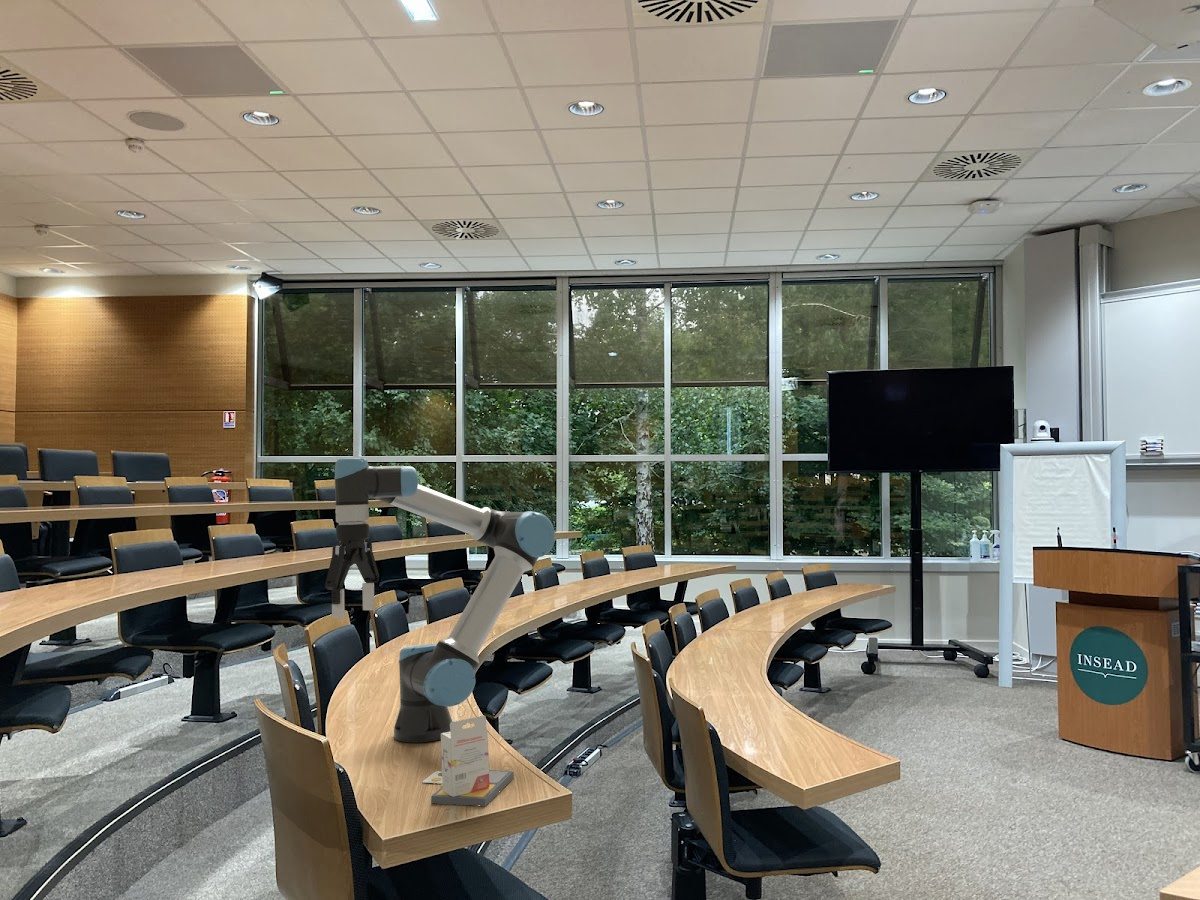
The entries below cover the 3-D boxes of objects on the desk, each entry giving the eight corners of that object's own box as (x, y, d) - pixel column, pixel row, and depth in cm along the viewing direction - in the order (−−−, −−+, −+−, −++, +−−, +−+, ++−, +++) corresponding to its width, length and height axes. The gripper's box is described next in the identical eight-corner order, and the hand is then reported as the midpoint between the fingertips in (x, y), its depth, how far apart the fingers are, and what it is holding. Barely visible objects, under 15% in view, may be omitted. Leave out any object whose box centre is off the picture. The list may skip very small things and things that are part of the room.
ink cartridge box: (479, 781, 174) (477, 710, 175) (490, 788, 170) (488, 715, 171) (441, 791, 170) (439, 717, 170) (451, 798, 165) (449, 722, 166)
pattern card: (435, 772, 186) (435, 770, 186) (456, 773, 185) (456, 771, 185) (422, 783, 179) (422, 781, 179) (443, 784, 178) (443, 782, 178)
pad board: (463, 775, 183) (463, 768, 183) (513, 778, 181) (513, 770, 181) (431, 803, 167) (431, 795, 167) (485, 806, 164) (485, 798, 165)
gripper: (364, 521, 209) (366, 606, 208) (307, 526, 185) (309, 622, 184) (392, 521, 208) (393, 606, 207) (338, 525, 183) (339, 622, 182)
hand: (354, 614), depth 195 cm, fingers open, 13 cm apart
